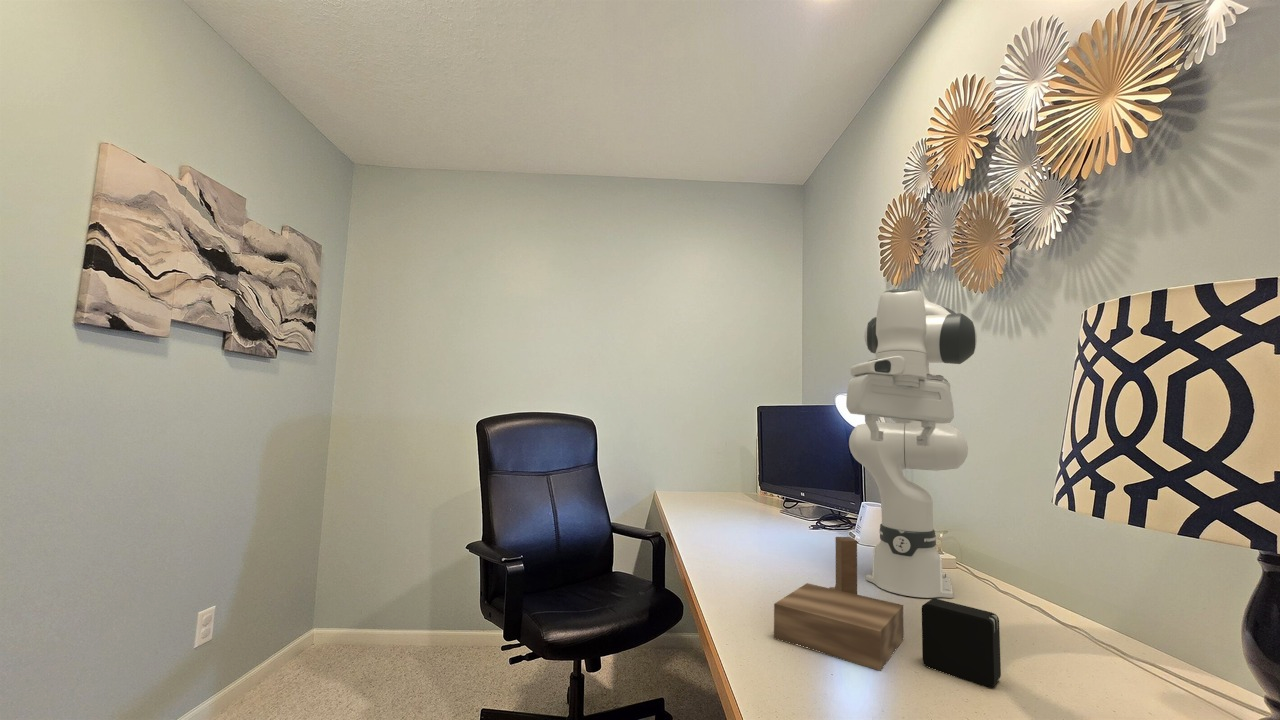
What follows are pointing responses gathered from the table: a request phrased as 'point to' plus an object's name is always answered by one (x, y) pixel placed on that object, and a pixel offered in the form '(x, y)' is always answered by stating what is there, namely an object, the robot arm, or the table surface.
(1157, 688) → the table surface
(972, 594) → the table surface
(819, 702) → the table surface
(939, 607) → the electronic device
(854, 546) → the wooden block
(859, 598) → the walnut box
